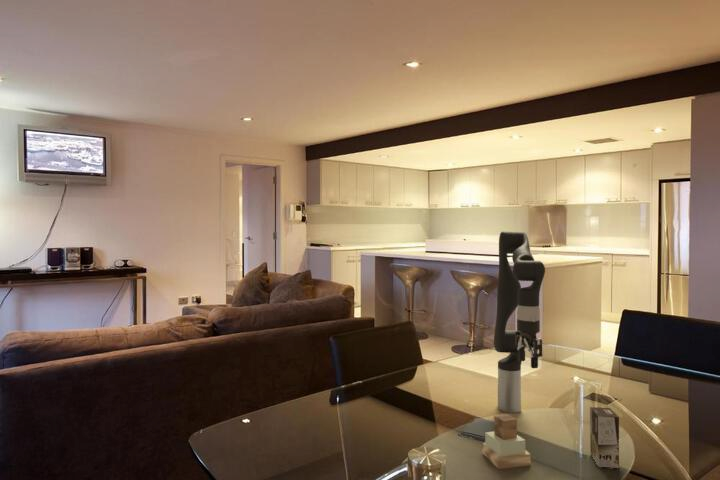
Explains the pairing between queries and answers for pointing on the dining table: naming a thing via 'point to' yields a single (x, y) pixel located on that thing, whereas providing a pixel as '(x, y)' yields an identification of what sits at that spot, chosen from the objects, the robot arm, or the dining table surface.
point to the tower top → (504, 444)
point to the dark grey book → (478, 429)
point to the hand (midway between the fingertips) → (527, 364)
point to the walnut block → (505, 426)
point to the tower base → (507, 458)
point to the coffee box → (604, 436)
